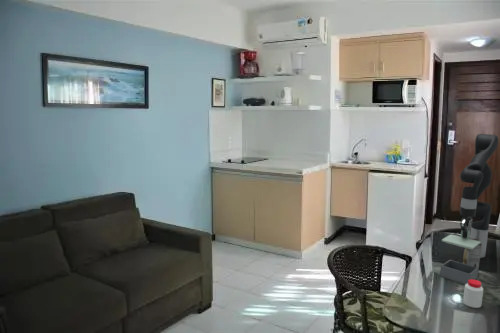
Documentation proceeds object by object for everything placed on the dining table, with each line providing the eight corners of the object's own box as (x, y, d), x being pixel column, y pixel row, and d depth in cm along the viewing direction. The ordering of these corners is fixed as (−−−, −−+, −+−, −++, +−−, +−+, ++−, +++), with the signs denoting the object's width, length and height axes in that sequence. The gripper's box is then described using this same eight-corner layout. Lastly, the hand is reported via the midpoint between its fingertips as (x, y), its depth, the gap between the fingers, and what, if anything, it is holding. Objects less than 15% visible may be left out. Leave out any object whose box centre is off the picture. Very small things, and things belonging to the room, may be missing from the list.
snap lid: (450, 236, 234) (451, 225, 233) (480, 244, 223) (481, 232, 222) (441, 242, 225) (442, 230, 224) (472, 250, 215) (473, 238, 213)
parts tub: (448, 269, 236) (449, 259, 235) (477, 278, 225) (478, 267, 224) (439, 276, 228) (440, 265, 226) (469, 285, 217) (470, 274, 216)
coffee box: (461, 263, 244) (464, 237, 241) (473, 265, 243) (476, 238, 240) (466, 270, 235) (469, 243, 232) (478, 271, 234) (482, 244, 231)
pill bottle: (459, 299, 202) (462, 278, 200) (474, 299, 203) (477, 278, 201) (469, 308, 195) (471, 285, 193) (484, 307, 195) (487, 285, 193)
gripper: (465, 202, 232) (462, 232, 235) (456, 207, 222) (453, 238, 226) (480, 205, 227) (476, 236, 230) (471, 210, 217) (467, 242, 221)
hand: (464, 237), depth 228 cm, fingers closed on snap lid, 1 cm apart
